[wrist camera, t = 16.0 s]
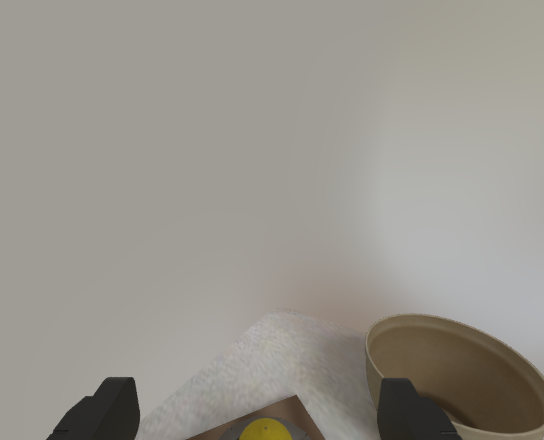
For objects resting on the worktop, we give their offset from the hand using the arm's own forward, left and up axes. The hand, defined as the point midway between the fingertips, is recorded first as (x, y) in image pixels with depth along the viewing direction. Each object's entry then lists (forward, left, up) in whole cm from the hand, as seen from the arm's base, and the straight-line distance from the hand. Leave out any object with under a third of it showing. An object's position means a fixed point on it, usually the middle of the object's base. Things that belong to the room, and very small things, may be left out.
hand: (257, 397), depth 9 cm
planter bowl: (-24, -7, -24) cm, 35 cm away
